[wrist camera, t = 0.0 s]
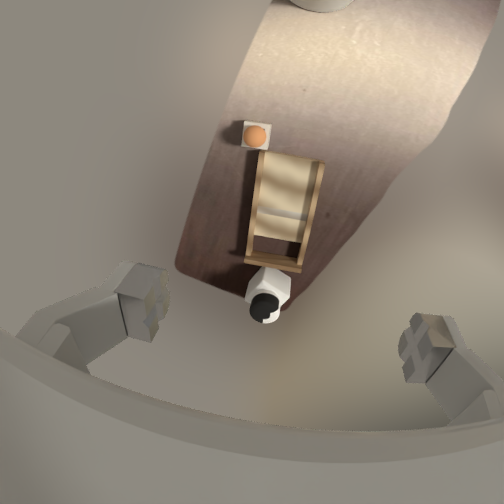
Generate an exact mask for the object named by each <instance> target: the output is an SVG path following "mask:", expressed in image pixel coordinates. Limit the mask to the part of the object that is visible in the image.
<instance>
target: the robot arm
mask: <svg viewBox="0 0 504 504" xmlns="http://www.w3.org/2000/svg"><path fill="white" fill-rule="evenodd" d="M290 1H291V2H292V3H294V4H295V5H297V6H299V7H301V8H304V9H307V10H310V11H315V12H333V11H337V10H340V9H342V8H344V7H346V6H348V5H349V4H350V3H351V2H353V1H354V0H290ZM168 281H169V276H168V271H167V270H166V269H162V268H158V267H154V266H150V265H145V264H142V263H137V262H133V261H128V260H124V261H122V262H121V263H120V264H119V265H118V267H117V268H116V269H115V270H114V271H113V272H112V274H110V276H109V277H108V278H107V279H106V280H105V281H104V283H103V284H102V285H101V286H100V287H99V288H97V287H94V288H92V289H89V290H87V291H84V292H82V293H79V294H77V295H74V296H72V297H70V298H67V299H65V300H62V301H60V302H58V303H55V304H53V305H51V306H48V307H46V308H44V309H41V310H39V311H36V312H35V314H34V315H33V316H32V317H31V318H30V319H29V320H28V322H27V323H26V324H25V325H24V326H23V328H22V329H21V330H20V332H19V333H18V334H17V335H16V336H13V335H11V334H10V333H7V332H6V331H5V330H3V329H1V328H0V504H504V381H503V380H502V379H501V378H500V377H499V376H498V375H497V374H496V373H495V372H494V371H493V370H492V369H491V368H490V367H489V366H488V365H487V364H486V363H485V362H484V361H483V360H482V359H481V358H480V357H479V356H477V355H476V354H475V353H474V352H473V351H472V350H471V349H467V346H466V344H465V342H464V339H463V337H462V335H461V333H460V331H459V328H458V326H457V324H456V322H455V320H454V318H452V317H451V316H444V315H432V314H423V313H415V314H414V315H413V316H412V318H411V320H410V327H409V328H408V329H406V330H404V332H403V333H402V335H401V337H400V340H399V345H398V351H399V356H400V358H401V359H402V360H403V361H404V362H405V363H404V365H403V367H402V368H403V373H404V377H405V381H406V382H407V383H426V386H427V388H428V389H429V390H430V392H431V393H432V395H433V396H434V397H435V399H436V400H437V402H438V403H439V405H440V406H441V407H442V409H443V410H444V412H445V413H446V414H447V416H448V417H449V419H450V420H451V422H450V423H449V424H448V425H447V426H446V427H440V428H431V429H420V430H405V431H372V432H371V431H366V432H365V431H333V430H317V429H305V428H296V427H287V426H279V425H271V424H265V423H258V422H252V421H246V420H241V419H235V418H230V417H225V416H221V415H216V414H211V413H207V412H203V411H199V410H195V409H191V408H187V407H183V406H180V405H176V404H172V403H169V402H166V401H162V400H159V399H156V398H152V397H149V396H146V395H143V394H140V393H137V392H134V391H131V390H129V389H126V388H123V387H120V386H118V385H115V384H112V383H110V382H107V381H105V380H102V379H100V378H97V377H95V376H92V375H91V374H90V372H89V370H88V368H87V366H86V365H87V364H88V363H90V362H92V361H93V360H95V359H96V358H98V357H99V356H101V355H102V354H104V353H105V352H107V351H108V350H110V349H111V348H113V347H114V346H116V345H117V344H119V343H120V342H122V341H123V340H125V339H126V338H127V336H128V337H131V338H135V339H139V340H142V341H146V342H150V343H151V342H152V340H153V338H154V336H155V334H156V333H157V331H158V329H159V325H158V321H160V320H162V319H164V317H165V315H166V313H167V311H168V307H169V302H170V292H169V290H168V289H167V287H166V284H167V283H168Z"/></svg>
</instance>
